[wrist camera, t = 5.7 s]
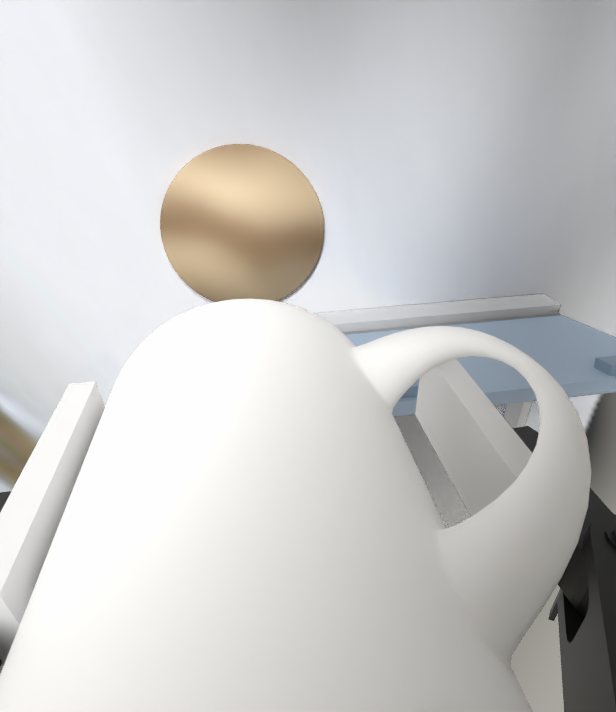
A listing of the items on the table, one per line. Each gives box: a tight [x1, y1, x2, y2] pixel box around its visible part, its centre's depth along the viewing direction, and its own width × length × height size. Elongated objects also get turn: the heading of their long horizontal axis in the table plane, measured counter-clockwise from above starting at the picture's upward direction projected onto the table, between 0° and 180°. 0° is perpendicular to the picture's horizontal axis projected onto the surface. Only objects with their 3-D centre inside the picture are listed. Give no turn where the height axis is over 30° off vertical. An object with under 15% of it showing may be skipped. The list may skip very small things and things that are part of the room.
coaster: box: [160, 144, 324, 302], centre depth 31 cm, size 11×11×1 cm
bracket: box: [314, 294, 561, 428], centre depth 38 cm, size 13×20×2 cm, turn 91°
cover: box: [342, 313, 616, 417], centre depth 29 cm, size 12×19×1 cm
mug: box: [0, 299, 591, 712], centre depth 11 cm, size 9×12×11 cm
